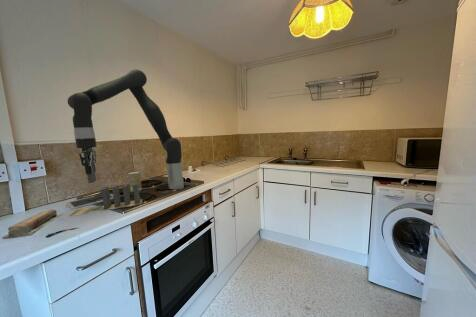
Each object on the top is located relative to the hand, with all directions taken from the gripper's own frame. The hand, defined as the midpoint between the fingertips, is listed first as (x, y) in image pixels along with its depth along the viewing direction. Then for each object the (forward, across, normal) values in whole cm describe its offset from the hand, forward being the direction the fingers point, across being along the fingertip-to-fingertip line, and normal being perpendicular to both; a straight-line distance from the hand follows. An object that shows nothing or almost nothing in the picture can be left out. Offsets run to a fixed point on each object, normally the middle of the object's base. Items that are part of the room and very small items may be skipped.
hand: (91, 172), depth 92 cm
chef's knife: (+20, +16, -2) cm, 26 cm away
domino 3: (+18, 0, +9) cm, 20 cm away
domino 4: (+18, 0, +14) cm, 23 cm away
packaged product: (+20, +7, -20) cm, 29 cm away
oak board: (+19, 0, +5) cm, 20 cm away
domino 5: (+18, 0, +18) cm, 26 cm away
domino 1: (+4, 0, 0) cm, 4 cm away
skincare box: (+19, -30, +14) cm, 38 cm away
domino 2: (+18, 0, +4) cm, 19 cm away
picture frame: (+20, -18, -7) cm, 28 cm away
